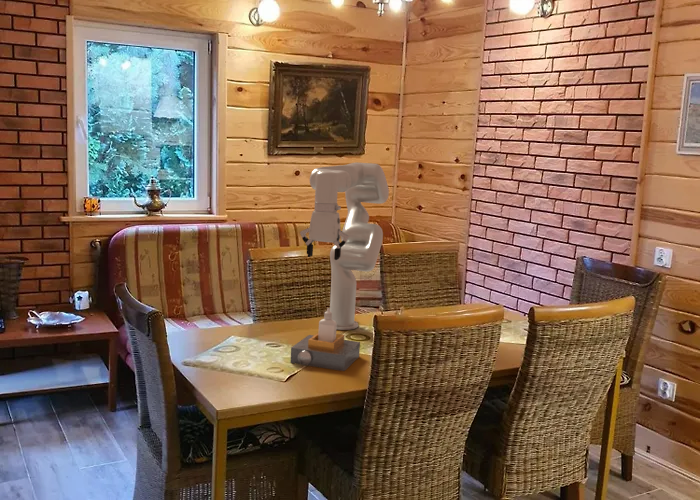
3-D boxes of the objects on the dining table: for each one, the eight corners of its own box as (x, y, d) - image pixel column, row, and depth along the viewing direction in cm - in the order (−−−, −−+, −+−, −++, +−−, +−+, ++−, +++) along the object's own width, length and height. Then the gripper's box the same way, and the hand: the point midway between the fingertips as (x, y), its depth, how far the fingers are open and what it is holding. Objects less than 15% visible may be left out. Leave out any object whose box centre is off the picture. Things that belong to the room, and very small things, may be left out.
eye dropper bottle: (327, 347, 230) (329, 311, 228) (316, 343, 234) (317, 307, 232) (337, 345, 233) (339, 309, 231) (326, 341, 237) (327, 305, 235)
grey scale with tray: (309, 348, 246) (310, 326, 244) (360, 355, 240) (361, 333, 239) (289, 363, 228) (290, 340, 227) (343, 372, 223) (344, 348, 222)
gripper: (353, 209, 245) (350, 258, 248) (305, 205, 250) (303, 253, 253) (346, 211, 238) (344, 262, 241) (297, 207, 243) (295, 257, 246)
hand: (323, 257), depth 247 cm, fingers open, 9 cm apart
